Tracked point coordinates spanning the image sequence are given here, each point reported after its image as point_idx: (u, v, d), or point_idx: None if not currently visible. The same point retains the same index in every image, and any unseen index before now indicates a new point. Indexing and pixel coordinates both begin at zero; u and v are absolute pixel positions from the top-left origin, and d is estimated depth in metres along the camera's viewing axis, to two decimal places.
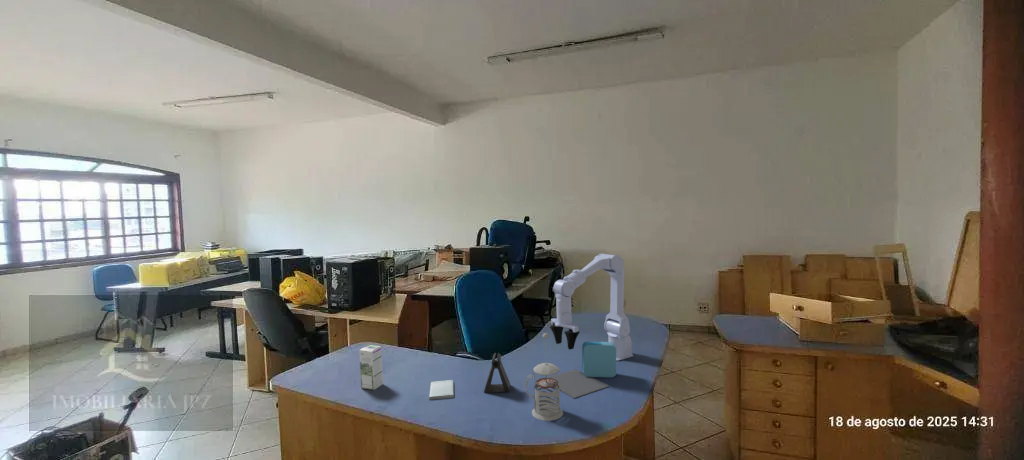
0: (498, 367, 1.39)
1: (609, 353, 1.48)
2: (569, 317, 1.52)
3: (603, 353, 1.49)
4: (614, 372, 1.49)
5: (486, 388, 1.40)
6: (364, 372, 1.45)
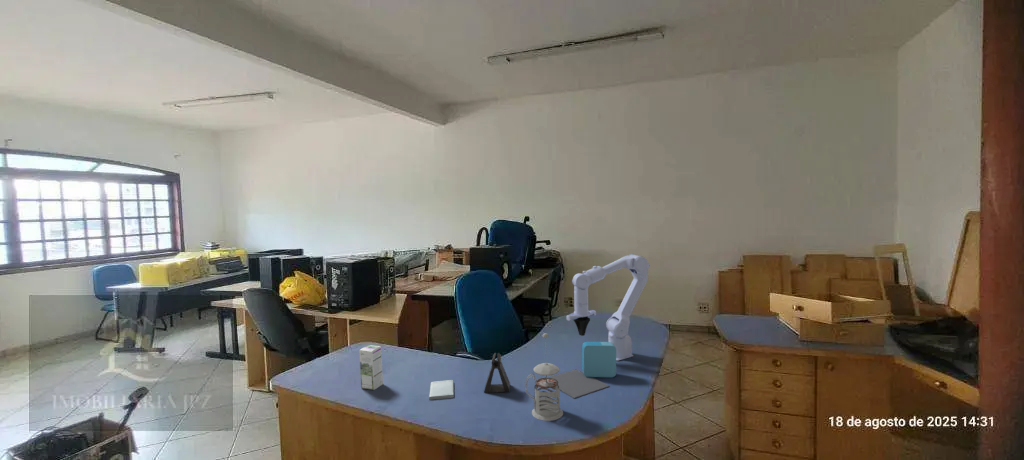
0: (498, 367, 1.39)
1: (609, 353, 1.48)
2: (576, 308, 1.65)
3: (603, 353, 1.49)
4: (614, 372, 1.49)
5: (486, 388, 1.40)
6: (364, 372, 1.45)
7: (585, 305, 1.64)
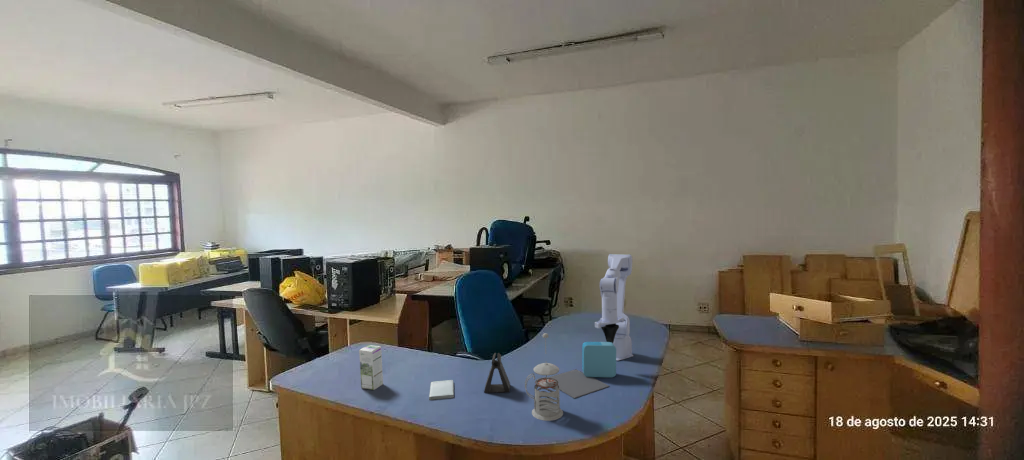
0: (498, 367, 1.39)
1: (609, 353, 1.48)
2: (605, 314, 1.54)
3: (603, 353, 1.49)
4: (614, 372, 1.49)
5: (486, 388, 1.40)
6: (364, 372, 1.45)
7: (614, 311, 1.53)
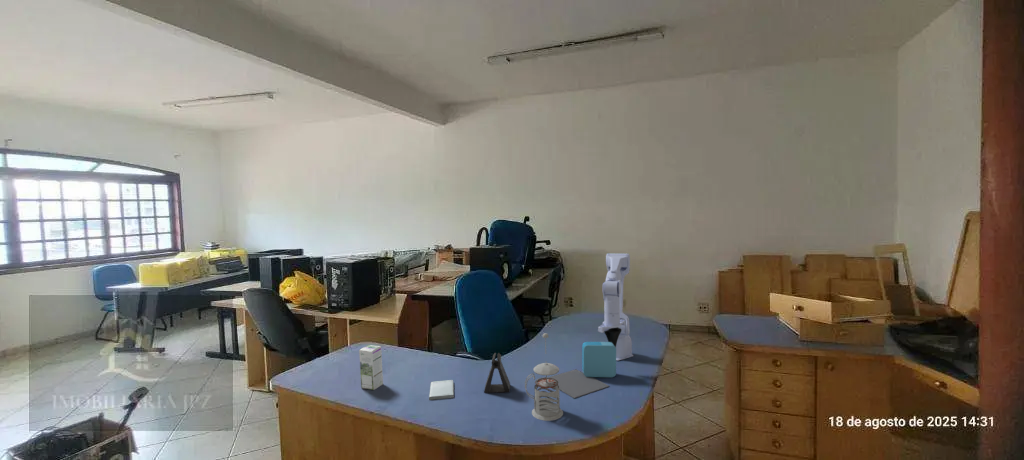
0: (498, 367, 1.39)
1: (609, 353, 1.48)
2: (608, 318, 1.52)
3: (603, 353, 1.49)
4: (614, 372, 1.49)
5: (486, 388, 1.40)
6: (364, 372, 1.45)
7: (617, 315, 1.52)
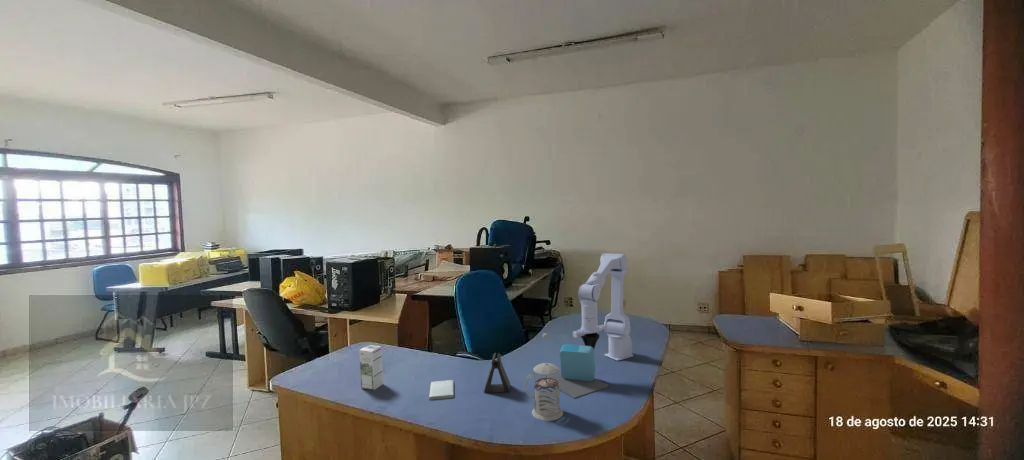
0: (498, 367, 1.39)
1: (585, 359, 1.43)
2: (584, 323, 1.46)
3: (579, 359, 1.44)
4: (592, 377, 1.44)
5: (486, 388, 1.40)
6: (364, 372, 1.45)
7: (594, 320, 1.46)
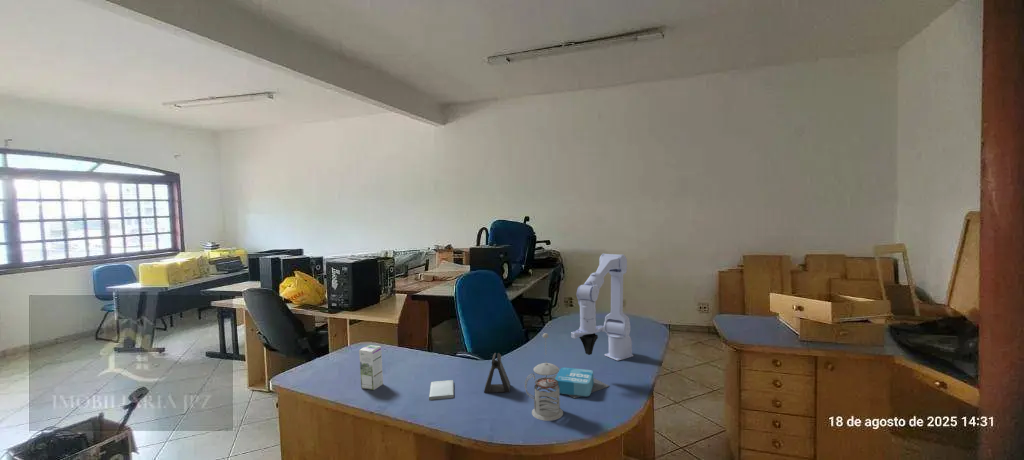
0: (498, 367, 1.39)
1: None
2: (582, 324, 1.46)
3: None
4: None
5: (486, 388, 1.40)
6: (364, 372, 1.45)
7: (592, 320, 1.45)
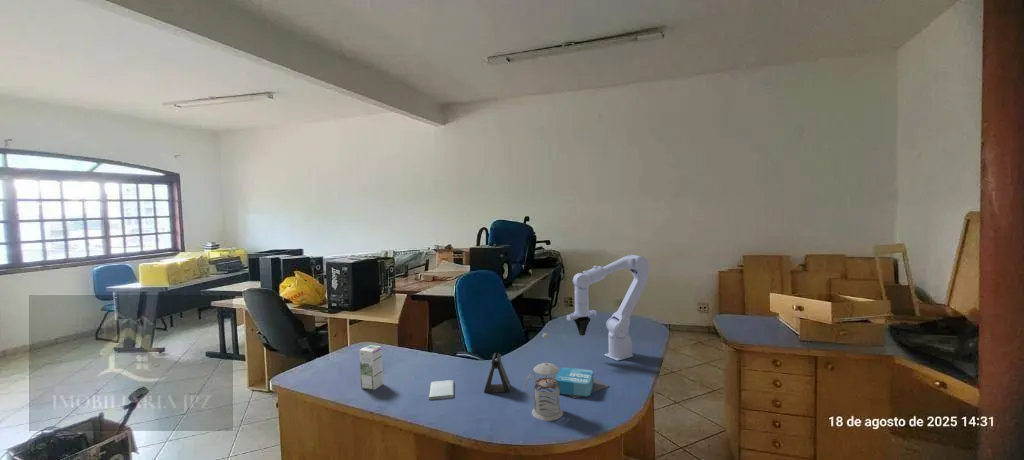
0: (498, 367, 1.39)
1: None
2: (577, 308, 1.65)
3: None
4: None
5: (486, 388, 1.40)
6: (364, 372, 1.45)
7: (585, 305, 1.64)
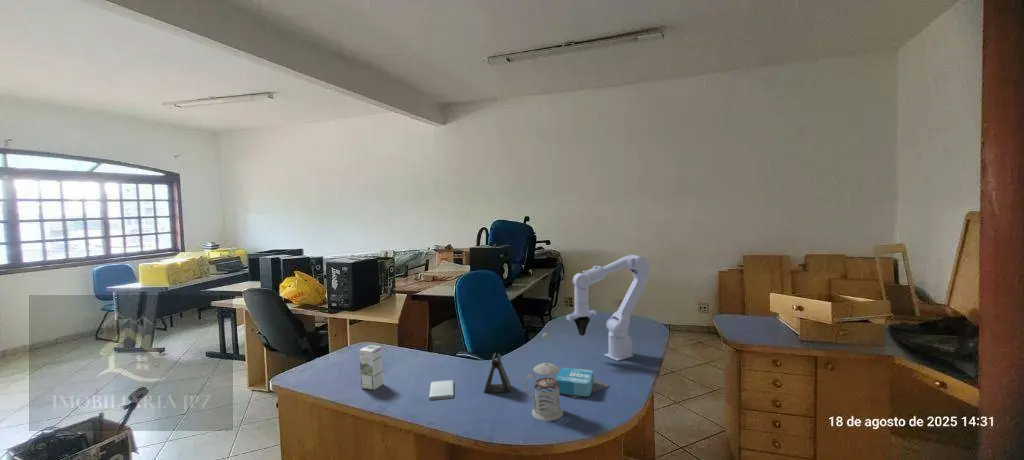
0: (498, 367, 1.39)
1: None
2: (577, 308, 1.65)
3: None
4: None
5: (486, 388, 1.40)
6: (364, 372, 1.45)
7: (585, 305, 1.64)
